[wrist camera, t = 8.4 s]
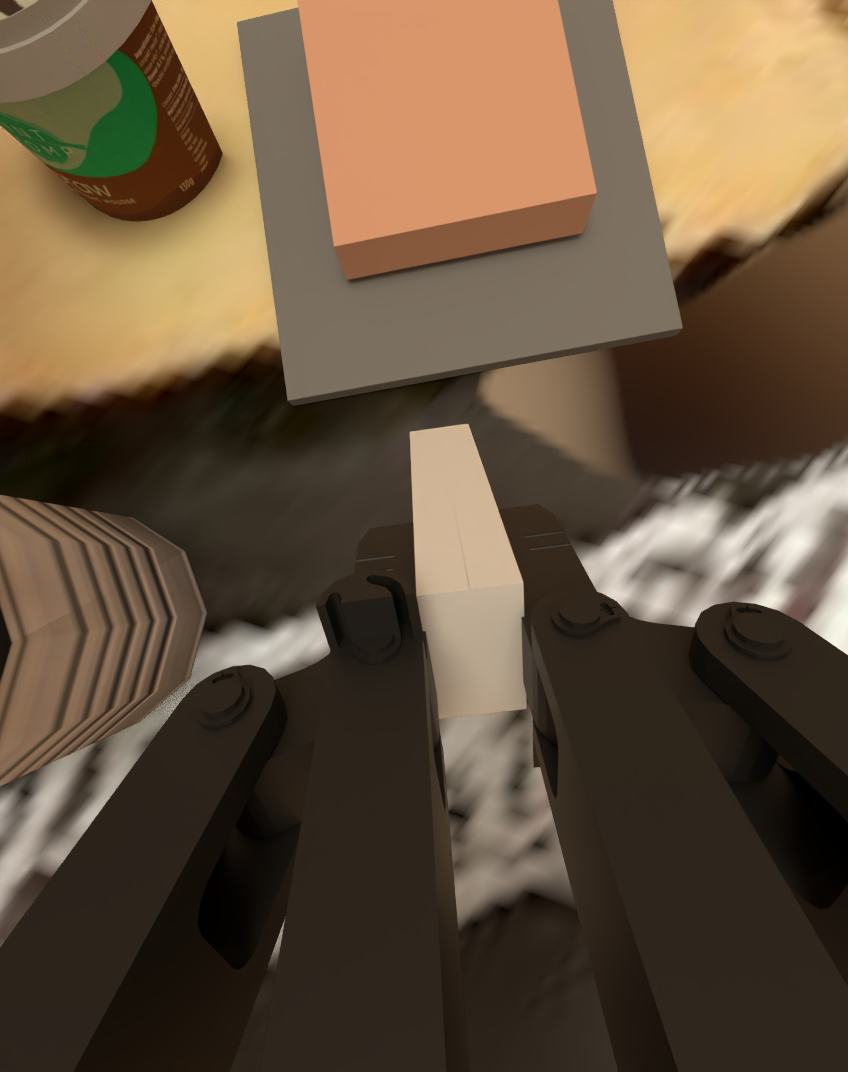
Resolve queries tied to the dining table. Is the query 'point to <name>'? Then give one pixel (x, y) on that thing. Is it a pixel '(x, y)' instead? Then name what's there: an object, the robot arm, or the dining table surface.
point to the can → (86, 628)
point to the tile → (444, 128)
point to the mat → (466, 282)
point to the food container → (105, 103)
